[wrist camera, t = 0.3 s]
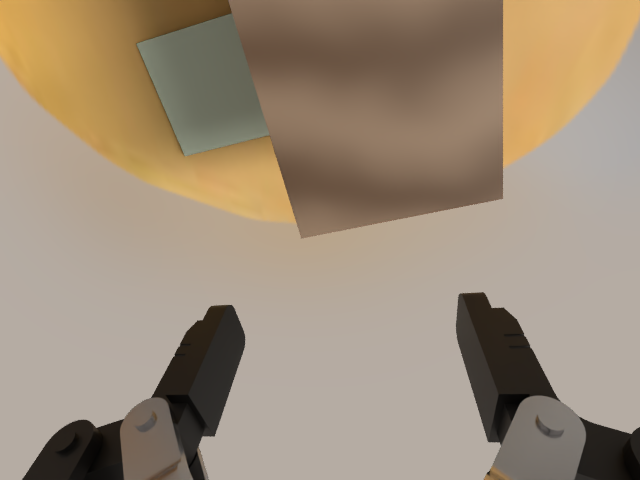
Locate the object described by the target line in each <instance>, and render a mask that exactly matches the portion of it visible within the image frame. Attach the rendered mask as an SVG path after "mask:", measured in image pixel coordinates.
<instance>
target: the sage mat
mask: <svg viewBox="0 0 640 480" xmlns="http://www.w3.org/2000/svg"><path fill="white" fill-rule="evenodd" d="M137 47H138V49H139V51H140V54H141V56H142V58H143V61H144V63H145V65H146V68H147V70H148V72H149V74H150V77H151V79H152V81H153V84H154V86H155V88H156V91H157V93H158V95H159V98H160V100H161V102H162V105H163V107H164V109H165V112H166V114H167V116H168V118H169V121H170V123H171V125H172V128H173V130H174V132H175V135H176V137H177V139H178V142H179V144H180V146H181V149H182V151H183V153H184V155H185V156H188V155H192V154H196V153H200V152H204V151H208V150H212V149H216V148H220V147H224V146H228V145H232V144H236V143H240V142H244V141H248V140H252V139H256V138H260V137H264V136H268V135H269V131H268V128H267V125H266V122H265V118H264V115H263V112H262V109H261V105H260V102H259V99H258V96H257V92H256V89H255V86H254V83H253V79H252V76H251V73H250V70H249V66H248V63H247V60H246V57H245V54H244V50H243V47H242V44H241V41H240V37H239V34H238V31H237V28H236V24H235V21H234V18H233V15H232V13H231V14H228V15H225V16H221V17H218V18H215V19H212V20H209V21H206V22H203V23H199V24H196V25H193V26H190V27H187V28H184V29H181V30H177V31H174V32H171V33H168V34H165V35H162V36H159V37H155V38H152V39H149V40H146V41H143V42H140V43H137Z"/></svg>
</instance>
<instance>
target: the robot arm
mask: <svg viewBox="0 0 640 480" xmlns="http://www.w3.org/2000/svg"><path fill="white" fill-rule="evenodd" d="M456 333H457V340H458V344H459V347H460V350H461V354H462V357H463V360H464V364H465V367H466V370H467V374H468V377H469V380H470V383H471V387H472V390H473V393H474V397H475V400H476V403H477V406H478V410H479V413H480V417H481V420H482V423H483V426H484V430H485V433H486V436H487V440H488V442H500V444H501V448H500V450H499V452H498V454H497V456H496V458H495V461H494V463H493V465H492V467H491V469H490V471H489V472H488V473H487V474H486V476H485V478H484V480H640V427H639V428H637V429H636V430H635V431H634V432H633V433H632V434H629V433H625V432H622V431H619V430H615V429H611V428H608V427H604V426H601V425H597V424H594V423H591V422H589V421H587V420H584V419H582V418H581V417H579V416H577V414H576V413H575V412H574V411H573V410H571V409H570V408H569V407H568V406H566V405H565V404H564V403H562V402H561V401H560V400H559V399H558V398H557V396H556V394H555V393H554V391H553V389H552V387H551V385H550V383H549V381H548V379H547V377H546V376H545V374H544V371H543V370H542V368H541V366H540V364H539V362H538V360H537V358H536V356H535V354H534V352H533V350H532V349H531V348H530V345H529V342H528V341H527V339H526V337H525V336H524V333H523V331H522V329H521V327H520V325H519V323H518V321H517V319H515V318H514V317H513V316H512V315H511V314H510V313H509V312H508V311H507V310H505V309H504V308H491V305H490V304H489V301H488V299H487V297H486V295H485V293H483V292H482V293H463V294H459V297H458V309H457V321H456ZM244 347H245V334H244V331H243V328H242V326H241V323H240V321H239V319H238V316H237V314H236V311H235V309H234V307H233V306H232V305H219V306H211V307H210V308H209V309H208V311H207V313H206V315H205V317H204V319H203V320H201V321H197V322H196V323H195V324H194V325H193V326H192V327H191V328H190V329H189V330H188V331H187V332H186V334H185V336H184V338H183V340H182V342H181V343H180V347H178V349H177V351H176V353H175V357H173V358H172V360H171V362H170V364H169V366H168V368H167V370H166V371H165V374H164V376H163V377H162V379H161V381H160V383H159V384H158V386H157V388H156V390H155V392H154V394H153V395H152V397H151V398H150V399H147V400H144V401H142V402H141V403H139V404H138V405H136V406H135V407H134V408H133V409H132V410H131V411H130V412H129V413H128V415H126V417H125V419H123V420H120V421H116V422H113V423H111V424H107V425H104V426H101V427H98V428H96V427H95V426H94V425H93V424H92V423H91V422H90V421H88V420H78V421H75V422H72V423H70V424H68V425H66V426H65V427H63V428H62V429H60V430H59V431H58V432H57V433H56V434H54V435H53V436H52V438H51V439H50V440H49V441H48V442H47V444H46V445H45V447H44V448H43V450H42V451H41V453H40V454H39V456H38V457H37V458H36V460H35V461H34V463H33V464H32V466H31V467H30V469H29V471H28V472H27V473H26V475H25V476H24V478H23V479H22V480H209V479H208V475H207V472H206V469H205V466H204V462H203V458H202V455H201V451H200V449H199V447H198V446H199V443H200V441H201V438H202V436H215V434H216V430H217V428H218V425H219V421H220V419H221V416H222V413H223V410H224V407H225V404H226V401H227V398H228V395H229V392H230V389H231V386H232V383H233V380H234V377H235V374H236V371H237V368H238V365H239V362H240V360H241V357H242V354H243V350H244Z"/></svg>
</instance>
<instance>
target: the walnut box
mask: <svg viewBox="0 0 640 480" xmlns="http://www.w3.org/2000/svg"><path fill="white" fill-rule="evenodd" d="M228 2H229V5H230V8H231V11H232V15H233V18H234V21H235V24H236V28H237V31H238V34H239V37H240V41H241V44H242V47H243V50H244V54H245V57H246V60H247V63H248V66H249V70H250V73H251V76H252V79H253V83H254V86H255V89H256V92H257V96H258V99H259V102H260V105H261V109H262V112H263V115H264V118H265V122H266V125H267V128H268V131H269V135H270V138H271V141H272V144H273V148H274V151H275V154H276V157H277V161H278V164H279V167H280V170H281V174H282V177H283V180H284V183H285V187H286V190H287V193H288V196H289V200H290V203H291V206H292V209H293V213H294V216H295V219H296V222H297V226H298V228H299V232H300V235H301V238H306V237H311V236H316V235H320V234H326V233H331V232H336V231H341V230H346V229H351V228H356V227H361V226H366V225H372V224H377V223H382V222H387V221H392V220H397V219H402V218H407V217H412V216H417V215H423V214H428V213H433V212H438V211H442V210H448V209H453V208H458V207H463V206H468V205H473V204H478V203H484V202H488V201H494V200H498V199H503V0H228Z"/></svg>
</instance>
